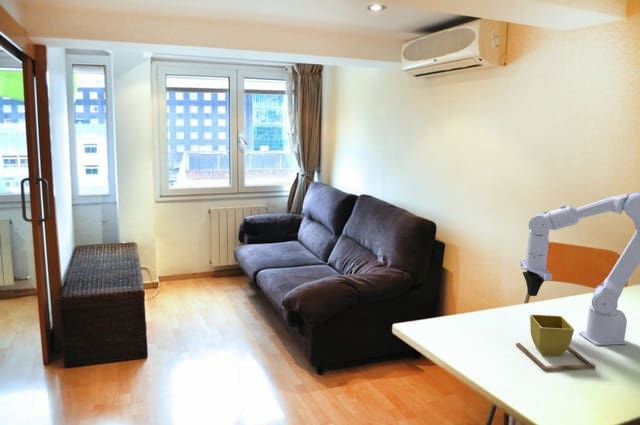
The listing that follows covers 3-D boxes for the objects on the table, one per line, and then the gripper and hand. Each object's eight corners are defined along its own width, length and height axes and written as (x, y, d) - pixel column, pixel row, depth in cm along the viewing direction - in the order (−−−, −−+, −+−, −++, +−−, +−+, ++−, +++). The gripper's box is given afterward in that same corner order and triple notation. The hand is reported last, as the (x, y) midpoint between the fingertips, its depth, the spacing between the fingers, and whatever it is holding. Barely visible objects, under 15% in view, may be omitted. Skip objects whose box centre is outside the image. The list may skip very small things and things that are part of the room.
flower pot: (571, 360, 129) (575, 329, 127) (537, 358, 129) (540, 327, 127) (558, 345, 137) (561, 315, 135) (526, 343, 138) (529, 314, 136)
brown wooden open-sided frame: (562, 343, 138) (562, 341, 138) (594, 368, 124) (595, 366, 124) (515, 345, 136) (516, 343, 136) (543, 371, 123) (544, 368, 123)
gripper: (512, 247, 154) (508, 287, 156) (537, 260, 139) (533, 304, 142) (533, 246, 154) (529, 286, 157) (560, 259, 140) (555, 303, 143)
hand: (532, 295), depth 150 cm, fingers closed
